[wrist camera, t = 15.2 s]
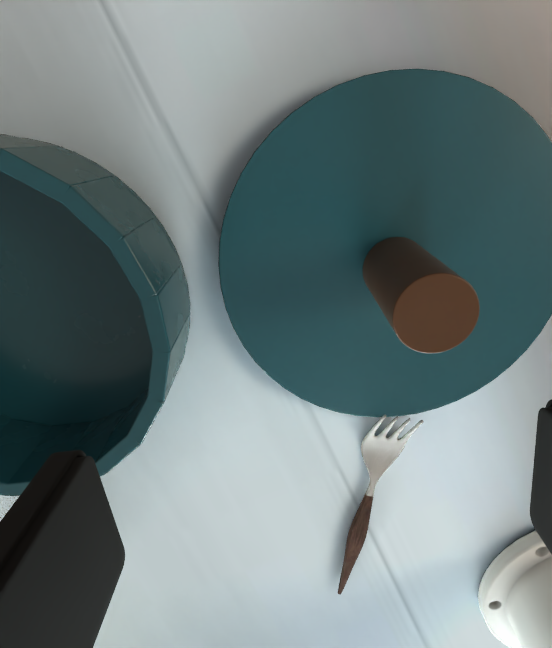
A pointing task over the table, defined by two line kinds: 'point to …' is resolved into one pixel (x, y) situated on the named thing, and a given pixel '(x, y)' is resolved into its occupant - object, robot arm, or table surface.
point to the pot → (80, 312)
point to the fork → (372, 485)
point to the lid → (392, 243)
